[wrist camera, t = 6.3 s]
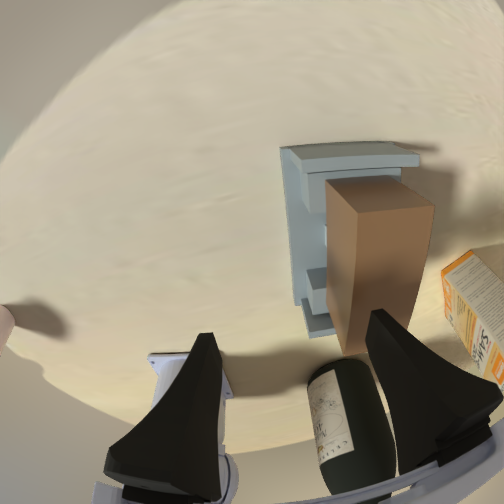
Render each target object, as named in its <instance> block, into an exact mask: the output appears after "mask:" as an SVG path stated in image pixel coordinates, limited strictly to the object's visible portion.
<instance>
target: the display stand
mask: <svg viewBox="0 0 504 504" xmlns="http://www.w3.org/2000/svg"><path fill="white" fill-rule="evenodd" d="M279 148H280V156H281V164H282V173H283V182H284V192H285V201H286V211H287V222H288V233H289V244H290V256H291V269H292V283H293V298H294V303H295V306H299V305H301V307H302V311H303V315H304V319H305V323H306V327H307V331H308V335H309V339H310V338H316V337H322V336H328V335H334V334H336V331H335V328H334V325H333V322H332V319H331V316H330V313H329V311H328V308H327V305H326V284H327V224H326V194H325V180H326V179H337V178H349V177H363V176H379V175H388V176H390V177H391V178H393V179H395V180H396V181H398V182H400V183H401V167H419V154H416V153H414V152H411V151H409V150H406V149H403V148H401V147H398V146H395V143H392V142H389V141H362V142H337V143H321V144H308V145H297V146H287V147H279Z"/></svg>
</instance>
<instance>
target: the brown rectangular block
mask: <svg viewBox="0 0 504 504" xmlns="http://www.w3.org/2000/svg"><path fill="white" fill-rule="evenodd" d="M325 194H326V224H327V284H326V305H327V308H328V311H329V313H330V316H331V319H332V322H333V325H334V328H335V331H336V334H337V337H338V340H339V343H340V346H341V349H342V352H343V355H344V357H345V356H350V355H355V354H359V353H364V352H368V350H367V346H366V343H365V337H366V333H367V328H368V324H369V319H370V314H371V311H372V310H377V309H382V308H383V309H384V310H385V311H386V312H387V313H389V314H390V315H391V316H392V317H393V318H394V319H395V320H396V321H397V322H398V323H399V324H401V325H402V326H403V327H404V328H405V329H406V330H407V328H408V325H409V322H410V319H411V316H412V312H413V309H414V306H415V302H416V298H417V295H418V291H419V287H420V283H421V279H422V275H423V271H424V267H425V262H426V257H427V252H428V247H429V242H430V236H431V230H432V224H433V217H434V209H435V205H433V204H432V203H430V202H429V201H427V200H426V199H424V198H423V197H421V196H420V195H418V194H417V193H415V192H414V191H412V190H411V189H409V188H408V187H406V186H404V185H403V184H401V183H400V182H398V181H396V180H395V179H393V178H391V177H390V176H388V175H379V176H363V177H349V178H337V179H326V180H325Z"/></svg>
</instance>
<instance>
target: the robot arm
mask: <svg viewBox="0 0 504 504" xmlns="http://www.w3.org/2000/svg"><path fill="white" fill-rule="evenodd" d="M365 343H366V346H367V350H368V354H369V357H370V360H371V362H372V365H373V367H374V370H375V372H376V374H377V377H378V379H379V382H380V384H381V386H382V389H383V391H384V394H385V397H386V400H387V403H388V406H389V410H390V414H391V418H392V423H393V428H394V434H395V440H396V447H397V457H398V471H399V475H400V476H398V477H395V478H393V479H390V480H387V481H384V482H381V483H378V484H375V485H371V486H368V487H364V488H361V489H357V490H353V491H349V492H345V493H341V494H337V495H332V496H327V497H322V498H316V499H310V500H303V501H296V502H288V503H278V504H356V503H360V502H364V501H367V500H370V499H374V498H377V497H380V496H383V495H386V494H389V493H392V492H394V491H397V490H400V489H402V488H405V487H407V486H410V485H412V484H413V485H412V486H411V487H410V490H408V491H405V492H403V493H400V494H397V495H395V496H392V497H390V498H388V499H386V500H383V501H380V502H379V503H378V504H457V503H458V502H460V501H461V500H463V499H464V498H466V497H467V496H468V495H470V494H471V493H473V492H474V491H475V490H477V489H478V488H479V487H481V486H482V485H483V484H485V483H486V482H487V481H488V480H490V479H491V478H492V477H493V476H495V475H496V474H497V473H498V472H499V471H501V470H502V469H503V468H504V418H502V419H501V420H500V421H498V422H497V423H495V424H494V425H493V426H491V427H489V425H488V423H490V418H489V415H490V414H491V413H492V412H493V411H494V410H495V409H496V408H497V407H498V406H499V405H500V404H501V402H502V401H503V398H504V396H503V395H502V392H501V390H500V389H499V387H498V385H497V383H494V382H491V381H488V380H485V379H482V378H479V377H477V376H475V375H472V374H470V373H468V372H466V371H464V370H462V369H460V368H458V367H456V366H455V365H453V364H451V363H449V362H448V361H446V360H445V359H443V358H442V357H440V356H439V355H437V354H436V353H434V352H433V351H431V350H430V349H429V348H428V347H426V346H425V345H424V344H422V343H421V342H420V341H419V340H418V339H416V338H415V337H414V336H413V335H412V334H411V333H409V332H408V331H407V330H406V329H405V328H404V327H403V326H402V325H401V324H399V323H398V322H397V321H396V320H395V319H394V318H393V317H392V316H391V315H390V314H389V313H387V312H386V311H385V310H384V309H383V308H382V309H377V310H372V311H371V314H370V319H369V324H368V328H367V333H366V337H365ZM147 360H148V361H149V363H150V364H151V366H152V368H153V369H154V371H155V372H156V374H157V375H158V380H157V384H156V388H155V393H154V397H153V402H152V406H151V411H150V412H149V413H148V414H147V415H146V416H145V418H144V419H143V420H142V421H141V422H139V423H138V424H137V425H136V426H135V427H134V428H133V429H132V430H131V431H130V432H129V433H128V434H126V435H125V436H124V437H123V438H121V439H120V440H119V441H117V442H116V443H115V444H113V445H112V446H111V447H109V450H108V453H107V457H106V461H105V466H104V471H103V472H104V474H105V475H106V476H108V477H110V478H112V479H114V480H116V481H118V482H120V483H122V484H123V487H122V489H121V488H118V487H115V486H111V485H108V484H105V483H101V482H98V481H96V482H95V485H94V491H93V496H92V502H91V504H230V503H231V501H232V499H233V498H234V496H235V494H236V491H237V488H238V482H239V474H238V468H237V465H236V463H235V461H234V460H233V458H232V456H231V455H230V454H227V453H225V445H223V444H222V443H223V440H224V436H225V407H226V399H232V398H234V395H233V392H232V390H231V387H230V385H229V382H228V380H227V377H226V375H225V372H224V370H223V367H222V358H221V355H220V352H219V349H218V346H217V343H216V340H215V337H214V334H213V332H212V333H200V334H199V335H198V336H197V339H196V341H195V343H194V345H193V347H192V349H191V351H190V353H188V354H150V355H148V356H147Z"/></svg>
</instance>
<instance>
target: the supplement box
mask: <svg viewBox="0 0 504 504" xmlns="http://www.w3.org/2000/svg"><path fill="white" fill-rule="evenodd" d="M441 276H442V282H443V289H444V296H445V316H446V318H447V319H448V321H449V322H450V324H451V325H452V327H453V328H454V330H455V331H456V333H457V334H458V336H459V337H460V339H461V341H462V342H463V344H464V345H465V347H466V349H467V350H468V352H469V354H470V355H471V357H472V359H473V360H474V362H475V364H476V365H477V367H478V369H479V370H480V372H481V374H482V376H483V378H484V379H485V380H488V381H491V382H494V383H497V385H498V387H499V389H500V390H501V392H503V391H504V283H503V282H502V281H501V280H500V279H499V278H498V276H497V275H496V274H495V273H494V272H493V271H492V270H491V269H490V268H489V267H488V266H487V265H486V264H485V263H484V262H483V261H482V260H481V259H480V258H478V257H477V256H476V255H475V254H474V253H473V252H472V251H469V252H468V253H466V254H465V255H463V256H462V257H461V258H459V259H458V260H456V261H455V262H454V263H452V264H451V265H449V266H448V267H446V268H445V269H444V270H442V271H441Z"/></svg>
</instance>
